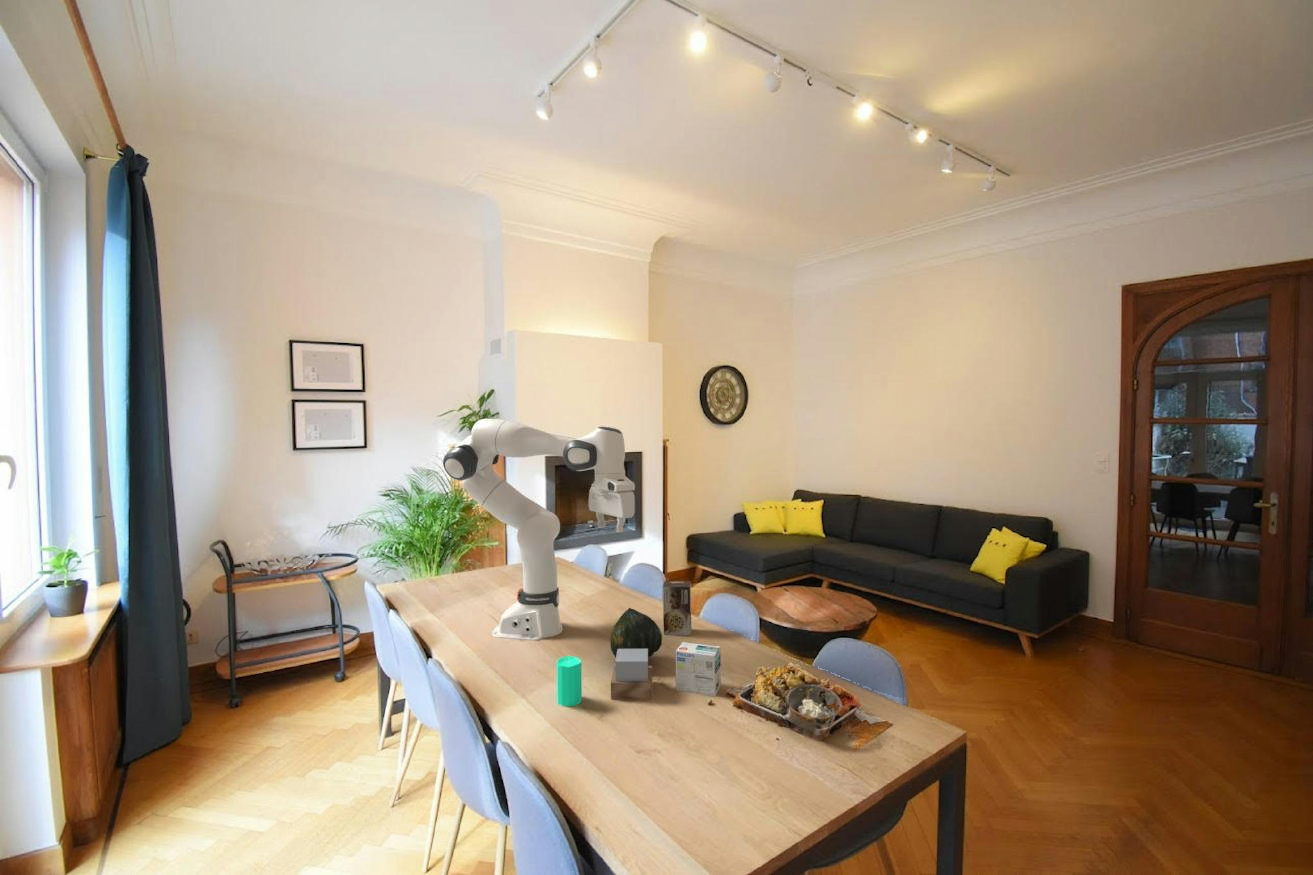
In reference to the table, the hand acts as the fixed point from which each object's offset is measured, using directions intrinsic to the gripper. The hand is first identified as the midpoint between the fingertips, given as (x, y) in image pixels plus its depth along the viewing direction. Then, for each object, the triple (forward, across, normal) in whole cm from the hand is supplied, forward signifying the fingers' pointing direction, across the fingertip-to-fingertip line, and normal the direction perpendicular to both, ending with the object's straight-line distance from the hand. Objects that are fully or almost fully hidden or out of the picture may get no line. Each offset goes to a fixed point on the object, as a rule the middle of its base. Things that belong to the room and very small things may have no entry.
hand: (610, 529), depth 170 cm
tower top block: (+33, +22, -7) cm, 40 cm away
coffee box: (+38, -4, +28) cm, 47 cm away
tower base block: (+38, +22, -7) cm, 44 cm away
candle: (+38, +17, -23) cm, 48 cm away
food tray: (+39, +54, +18) cm, 69 cm away
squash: (+38, +8, +3) cm, 39 cm away
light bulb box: (+38, +30, +8) cm, 49 cm away
